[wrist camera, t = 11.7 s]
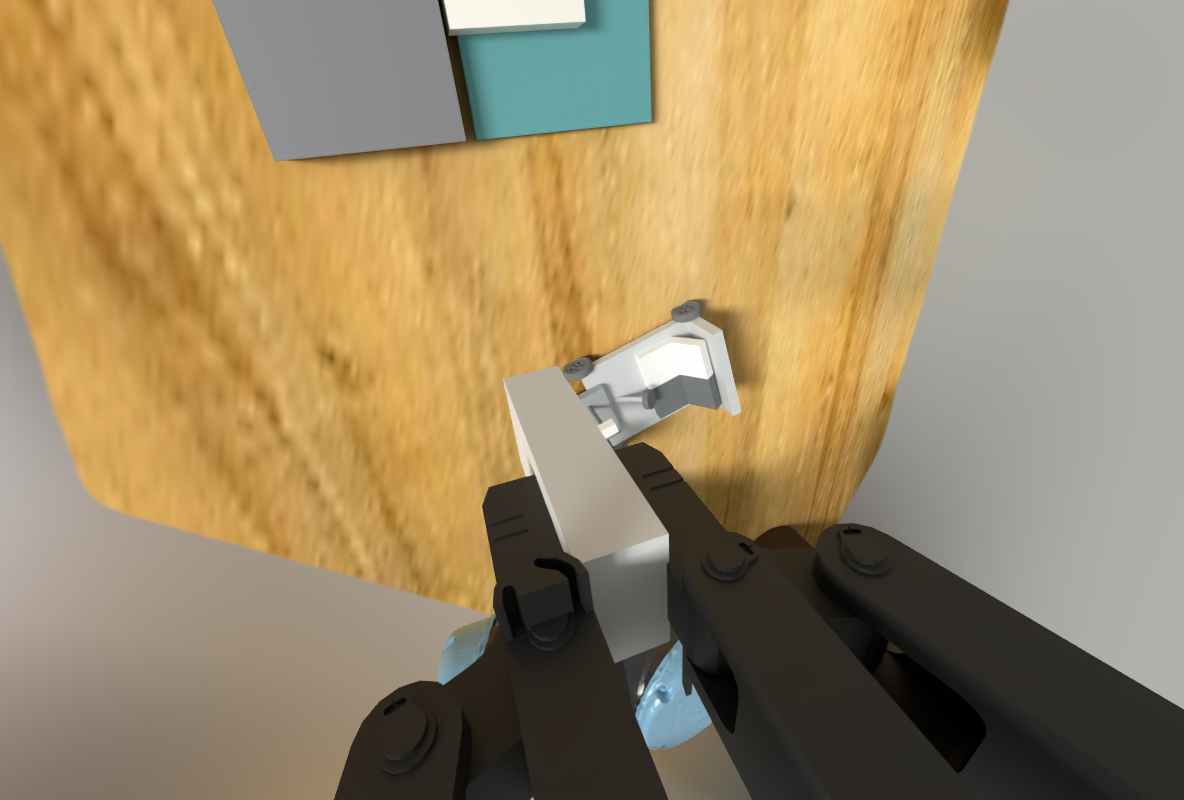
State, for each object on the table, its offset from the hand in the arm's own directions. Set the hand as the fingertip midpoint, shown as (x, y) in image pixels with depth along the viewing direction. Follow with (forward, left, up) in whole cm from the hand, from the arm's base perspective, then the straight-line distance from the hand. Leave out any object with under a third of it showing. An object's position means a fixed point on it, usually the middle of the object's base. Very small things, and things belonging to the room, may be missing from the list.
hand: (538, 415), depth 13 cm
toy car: (-17, -15, -30) cm, 37 cm away
